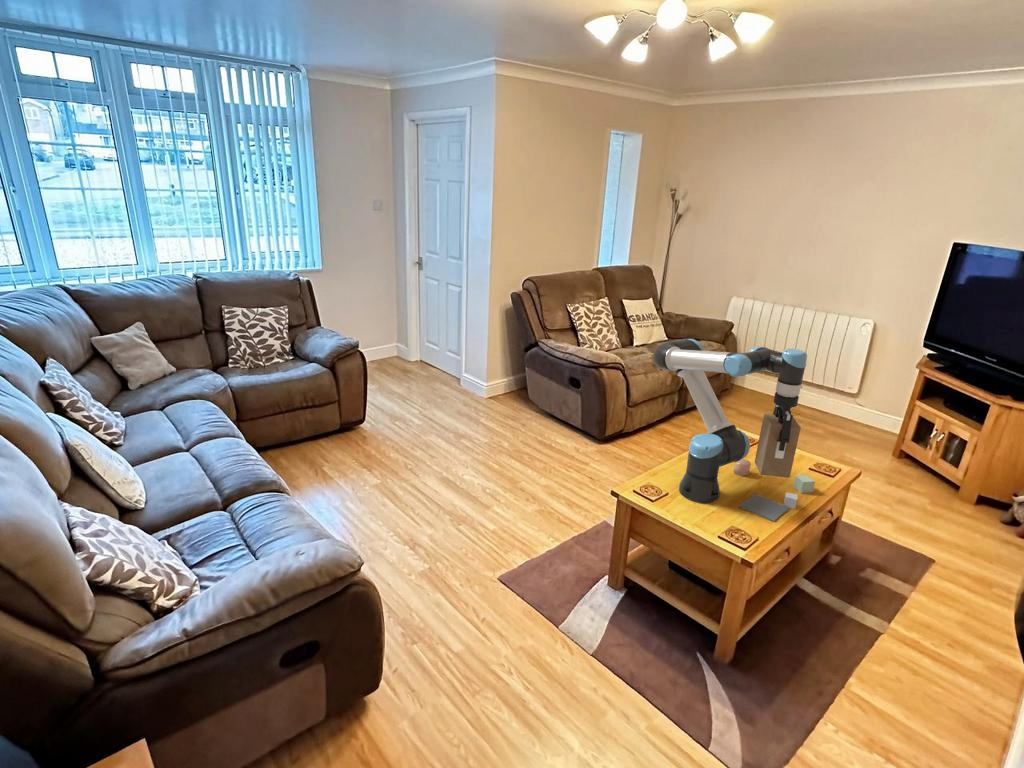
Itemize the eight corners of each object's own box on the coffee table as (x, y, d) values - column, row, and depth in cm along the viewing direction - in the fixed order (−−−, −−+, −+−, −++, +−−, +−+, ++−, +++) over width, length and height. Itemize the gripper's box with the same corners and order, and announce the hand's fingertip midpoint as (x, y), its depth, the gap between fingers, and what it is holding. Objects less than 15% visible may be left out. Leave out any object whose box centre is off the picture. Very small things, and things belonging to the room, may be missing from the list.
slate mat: (773, 522, 195) (773, 520, 195) (738, 506, 204) (739, 505, 204) (788, 509, 203) (789, 507, 203) (755, 495, 212) (755, 493, 212)
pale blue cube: (783, 506, 205) (785, 496, 204) (784, 501, 208) (786, 492, 207) (795, 509, 203) (797, 499, 202) (795, 504, 207) (797, 494, 205)
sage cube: (800, 493, 214) (803, 481, 213) (793, 486, 219) (795, 475, 217) (812, 492, 215) (815, 481, 213) (804, 486, 220) (807, 475, 218)
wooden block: (790, 478, 193) (801, 427, 186) (760, 475, 195) (770, 424, 188) (782, 465, 202) (792, 415, 195) (754, 462, 204) (763, 413, 197)
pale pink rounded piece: (734, 475, 227) (736, 464, 225) (732, 468, 232) (734, 458, 231) (750, 477, 226) (752, 466, 224) (747, 470, 231) (749, 460, 230)
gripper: (807, 406, 177) (794, 466, 185) (790, 384, 198) (779, 439, 205) (783, 404, 179) (770, 464, 186) (768, 382, 199) (758, 436, 207)
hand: (775, 451), depth 196 cm, fingers closed on wooden block, 10 cm apart
